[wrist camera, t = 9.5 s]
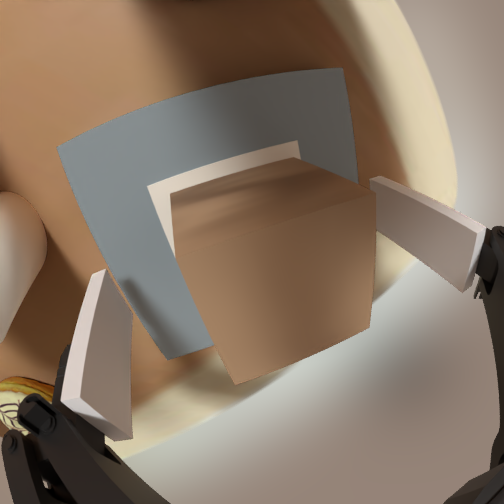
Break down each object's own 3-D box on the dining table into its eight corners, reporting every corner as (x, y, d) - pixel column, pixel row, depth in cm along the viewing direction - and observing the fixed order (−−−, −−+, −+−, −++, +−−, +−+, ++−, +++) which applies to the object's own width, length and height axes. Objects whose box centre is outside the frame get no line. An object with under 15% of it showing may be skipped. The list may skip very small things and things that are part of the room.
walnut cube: (208, 296, 15) (234, 385, 10) (169, 193, 12) (175, 258, 7) (308, 260, 16) (369, 327, 11) (293, 156, 13) (375, 192, 8)
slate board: (165, 344, 18) (167, 361, 16) (67, 143, 10) (55, 147, 9) (349, 274, 20) (361, 285, 18) (327, 69, 12) (343, 67, 11)
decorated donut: (104, 432, 22) (105, 462, 19) (23, 420, 18) (19, 447, 15) (76, 377, 17) (72, 415, 14) (-18, 361, 14) (-30, 392, 11)
